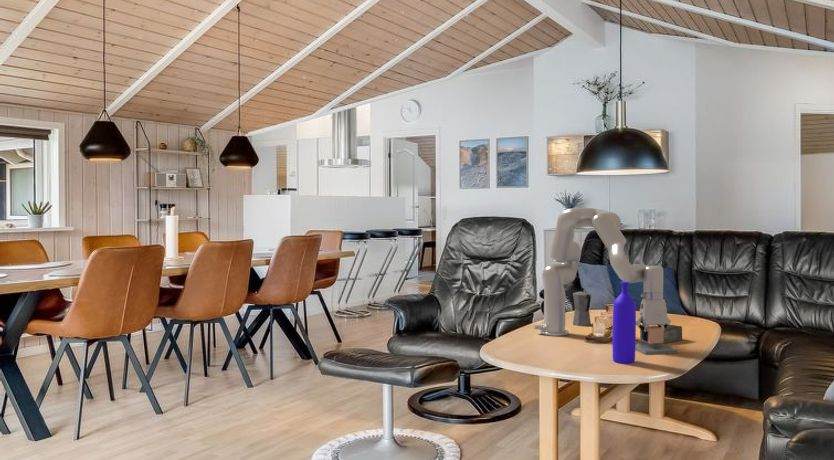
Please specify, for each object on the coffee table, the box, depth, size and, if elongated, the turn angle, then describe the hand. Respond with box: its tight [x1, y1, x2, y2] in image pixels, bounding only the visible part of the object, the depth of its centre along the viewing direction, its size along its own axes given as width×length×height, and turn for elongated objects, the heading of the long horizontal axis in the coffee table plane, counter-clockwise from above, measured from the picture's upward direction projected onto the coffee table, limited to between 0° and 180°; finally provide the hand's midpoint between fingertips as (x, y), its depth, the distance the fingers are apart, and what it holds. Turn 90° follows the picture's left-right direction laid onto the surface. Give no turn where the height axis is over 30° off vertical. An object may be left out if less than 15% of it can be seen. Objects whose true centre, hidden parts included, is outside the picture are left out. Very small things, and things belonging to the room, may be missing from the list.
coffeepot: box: [572, 287, 592, 327], centre depth 325 cm, size 15×9×18 cm, turn 9°
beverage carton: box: [639, 324, 683, 344], centre depth 288 cm, size 8×19×7 cm, turn 122°
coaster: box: [635, 342, 679, 355], centre depth 270 cm, size 14×14×1 cm
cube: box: [642, 325, 664, 344], centre depth 270 cm, size 6×6×6 cm
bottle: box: [612, 281, 637, 365], centre depth 250 cm, size 8×8×30 cm
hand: (652, 340), depth 270 cm, fingers closed on cube, 6 cm apart
